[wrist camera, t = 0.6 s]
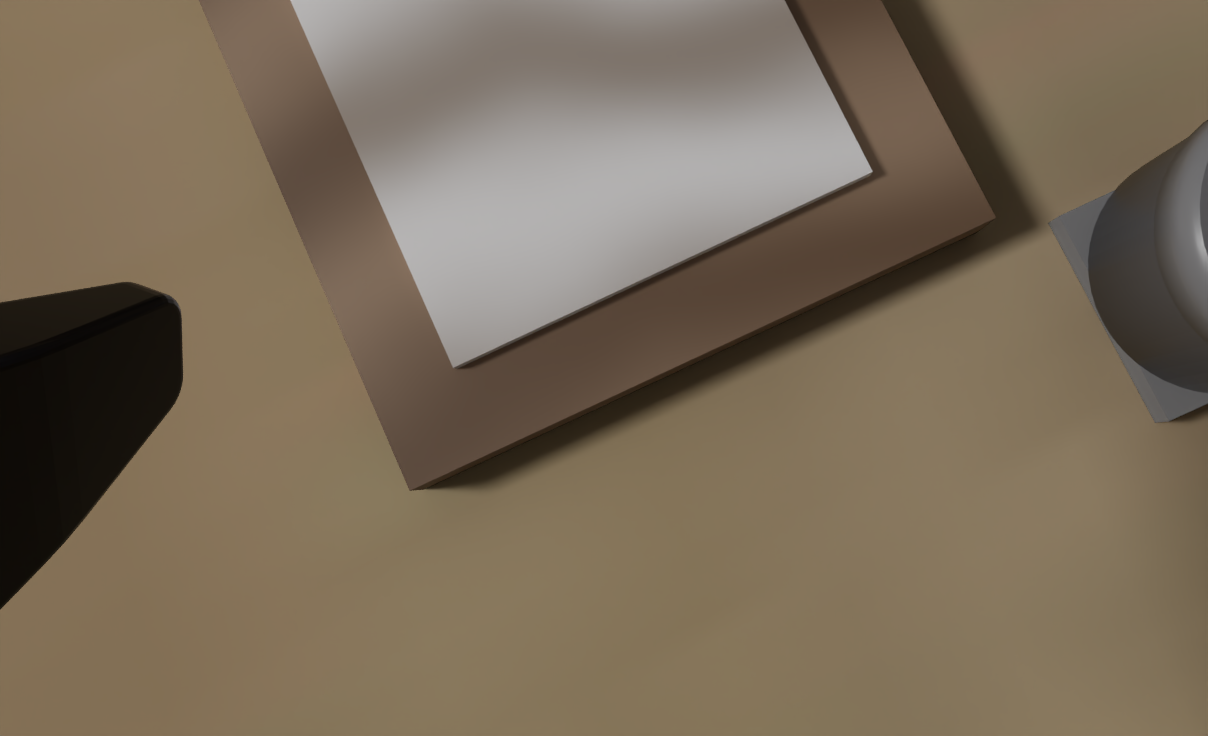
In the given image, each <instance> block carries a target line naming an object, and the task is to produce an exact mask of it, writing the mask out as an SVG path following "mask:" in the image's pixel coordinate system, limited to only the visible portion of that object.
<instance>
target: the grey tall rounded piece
mask: <svg viewBox="0 0 1208 736" xmlns="http://www.w3.org/2000/svg"><path fill="white" fill-rule="evenodd" d="M1049 225H1050V227H1051V229H1052V231H1053V233H1054V235H1055V237H1056V238H1057V240H1058V242H1059V244H1060V246H1061V248H1062V250H1063V251H1064V253H1065V255H1066V257H1067V259H1068V261H1069V263H1070V265H1071V266H1072V268H1073V270H1074V272H1075V274H1076V276H1077V278H1078V280H1079V281H1080V283H1081V285H1082V287H1083V289H1084V291H1085V293H1086V294H1087V296H1088V298H1089V300H1090V302H1091V304H1092V306H1093V308H1094V309H1095V311H1096V313H1097V315H1098V317H1099V319H1100V321H1101V322H1102V324H1103V326H1104V328H1105V330H1106V332H1107V334H1108V336H1109V337H1110V339H1111V341H1112V343H1113V345H1114V347H1115V349H1116V351H1117V352H1118V354H1119V356H1120V358H1121V360H1122V362H1123V364H1124V365H1125V367H1126V369H1127V371H1128V373H1129V375H1130V377H1131V379H1132V380H1133V382H1134V384H1135V386H1136V388H1137V390H1138V392H1139V394H1140V395H1141V397H1142V399H1143V401H1144V403H1145V405H1146V407H1147V408H1148V410H1149V412H1150V414H1151V416H1152V418H1153V420H1154V422H1155V423H1156V422H1167V421H1171V420H1173V419H1175V418H1177V417H1179V416H1182V415H1184V414H1186V413H1188V412H1190V411H1192V410H1195V409H1197V408H1199V407H1201V406H1203V405H1205V404H1208V120H1206V121H1205V122H1204V123H1203V124H1202V125H1200V126H1199V127H1198V128H1197V129H1196V130H1195V131H1194V132H1193V133H1192V134H1191V135H1190V136H1189V137H1188V138H1186V139H1185V140H1183V141H1181V142H1180V143H1178V144H1177V145H1175V146H1173V147H1172V148H1170V149H1169V150H1167V151H1166V152H1164V153H1162V154H1161V155H1159V156H1158V157H1156V158H1155V159H1153V160H1151V161H1150V162H1148V163H1147V164H1145V165H1144V166H1142V167H1141V168H1139V169H1138V170H1137V171H1135V172H1134V173H1132V174H1131V175H1130V176H1129V177H1128V178H1127V179H1125V180H1124V181H1123V182H1122V183H1121V184H1120V185H1119V186H1118V187H1117V189H1116V190H1114V191H1112V192H1110V193H1108V194H1106V195H1104V196H1101V197H1099V198H1097V199H1095V200H1093V201H1091V202H1089V203H1086V204H1084V205H1082V206H1080V207H1078V208H1076V209H1074V210H1071V211H1069V212H1067V213H1065V214H1063V215H1061V216H1059V217H1057V218H1055V219H1054V220H1052V221H1051V222H1049Z"/></svg>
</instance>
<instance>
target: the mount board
mask: <svg viewBox="0 0 1208 736" xmlns="http://www.w3.org/2000/svg"><path fill="white" fill-rule="evenodd" d="M199 1H200V4H201V6H202V8H203V11H204V13H205V15H206V18H207V20H208V22H209V25H210V27H211V29H212V32H213V34H214V36H215V39H216V41H217V43H218V46H219V48H220V50H221V53H222V55H223V57H224V60H225V62H226V64H227V67H228V69H229V71H230V74H231V76H232V78H233V81H234V83H235V85H236V88H237V90H238V92H239V95H240V97H241V99H242V102H243V104H244V106H245V108H246V111H247V113H248V115H249V118H250V120H251V122H252V125H253V127H254V129H255V132H256V134H257V136H258V139H259V141H260V143H261V146H262V148H263V150H264V153H265V155H266V157H267V160H268V162H269V164H270V167H271V169H272V171H273V174H274V176H275V178H276V181H277V183H278V185H279V188H280V190H281V192H282V195H283V197H284V199H285V202H286V204H287V206H288V209H289V211H290V213H291V216H292V218H293V220H294V222H295V225H296V227H297V229H298V232H299V234H300V236H301V239H302V241H303V243H304V246H305V248H306V250H307V253H308V255H309V257H310V260H311V262H312V264H313V267H314V269H315V271H316V274H317V276H318V278H319V281H320V283H321V285H322V288H323V290H324V292H325V295H326V297H327V299H328V302H329V304H330V306H331V309H332V311H333V313H334V316H335V318H336V320H337V323H338V325H339V327H340V330H341V332H342V334H343V337H344V339H345V341H346V343H347V346H348V348H349V350H350V353H351V355H352V357H353V360H354V362H355V364H356V367H357V369H358V371H359V374H360V376H361V378H362V381H363V383H364V385H365V388H366V390H367V392H368V395H369V397H370V399H371V402H372V404H373V406H374V409H375V411H376V413H377V416H378V418H379V420H380V423H381V425H382V427H383V430H384V432H385V434H386V437H387V439H388V441H389V444H390V446H391V448H392V451H393V453H394V455H395V457H396V460H397V462H398V464H399V467H400V469H401V471H402V474H403V476H404V478H405V481H406V483H407V485H408V488H409V490H410V491H412V490H423V489H426V488H428V487H430V486H432V485H434V484H436V483H438V482H441V481H443V480H445V479H447V478H449V477H451V476H454V475H456V474H458V473H460V472H462V471H464V470H466V469H469V468H471V467H473V466H475V465H477V464H479V463H481V462H484V461H486V460H488V459H490V458H492V457H494V456H496V455H499V454H501V453H503V452H505V451H507V450H509V449H512V448H514V447H516V446H518V445H520V444H522V443H524V442H527V441H529V440H531V439H533V438H535V437H537V436H539V435H542V434H544V433H546V432H548V431H550V430H552V429H555V428H557V427H559V426H561V425H563V424H565V423H567V422H570V421H572V420H574V419H576V418H578V417H580V416H582V415H585V414H587V413H589V412H591V411H593V410H595V409H598V408H600V407H602V406H604V405H606V404H608V403H610V402H613V401H615V400H617V399H619V398H621V397H623V396H625V395H628V394H630V393H632V392H634V391H636V390H638V389H641V388H643V387H645V386H647V385H649V384H651V383H653V382H656V381H658V380H660V379H662V378H664V377H666V376H668V375H671V374H673V373H675V372H677V371H679V370H681V369H683V368H686V367H688V366H690V365H692V364H694V363H696V362H699V361H701V360H703V359H705V358H707V357H709V356H711V355H714V354H716V353H718V352H720V351H722V350H724V349H726V348H729V347H731V346H733V345H735V344H737V343H739V342H742V341H744V340H746V339H748V338H750V337H752V336H754V335H757V334H759V333H761V332H763V331H765V330H767V329H769V328H772V327H774V326H776V325H778V324H780V323H782V322H785V321H787V320H789V319H791V318H793V317H795V316H797V315H800V314H802V313H804V312H806V311H808V310H810V309H812V308H815V307H817V306H819V305H821V304H823V303H825V302H827V301H830V300H832V299H834V298H836V297H838V296H840V295H843V294H845V293H847V292H849V291H851V290H853V289H855V288H858V287H860V286H862V285H864V284H866V283H868V282H870V281H873V280H875V279H877V278H879V277H881V276H883V275H886V274H888V273H890V272H892V271H894V270H896V269H898V268H901V267H903V266H905V265H907V264H909V263H911V262H913V261H916V260H918V259H920V258H922V257H924V256H926V255H929V254H931V253H933V252H935V251H937V250H939V249H941V248H944V247H946V246H948V245H950V244H952V243H954V242H956V241H959V240H961V239H963V238H965V237H967V236H969V235H971V234H974V233H976V232H978V231H979V230H981V229H982V228H983V227H985V226H986V225H987V224H989V223H990V222H991V221H993V220H994V219H995V218H996V217H995V215H994V213H993V211H992V209H991V207H990V205H989V203H988V201H987V199H986V198H985V196H984V194H983V192H982V190H981V188H980V186H979V184H978V182H977V181H976V179H975V177H974V175H973V173H972V171H971V169H970V167H969V165H968V164H967V162H966V160H965V158H964V156H963V154H962V152H961V150H960V148H959V146H958V145H957V143H956V141H955V139H954V137H953V135H952V133H951V131H950V129H949V128H948V126H947V124H946V122H945V120H944V118H943V116H942V114H941V112H940V111H939V109H938V107H937V105H936V103H935V101H934V99H933V97H932V95H931V93H930V92H929V90H928V88H927V86H926V84H925V82H924V80H923V78H922V76H921V75H920V73H919V71H918V69H917V67H916V65H915V63H914V61H913V59H912V58H911V56H910V54H909V52H908V50H907V48H906V46H905V44H904V42H903V40H902V39H901V37H900V35H899V33H898V31H897V29H896V27H895V25H894V23H893V22H892V20H891V18H890V16H889V14H888V12H887V10H886V8H885V6H884V5H883V3H882V1H881V0H199Z"/></svg>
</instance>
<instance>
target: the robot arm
mask: <svg viewBox="0 0 1208 736" xmlns="http://www.w3.org/2000/svg"><path fill="white" fill-rule="evenodd" d="M182 382H183V355H182V318H181V310H180V308H179V305H178V303H177V302H176V300H174V299H173V298H172V297H171V296H169V295H167V294H164V293H161V292H159V291H156V290H153V289H150V288H148V287H145V286H142V285H139V284H136V283H132V282H121V283H115V284H109V285H103V286H97V287H91V288H85V289H79V290H73V291H67V292H61V293H55V294H49V295H43V296H37V297H31V298H25V299H19V300H13V301H7V302H1V303H0V609H1V608H2V607H3V606H4V605H5V604H6V603H7V602H8V601H9V600H10V599H11V598H12V597H13V596H14V595H15V594H16V593H17V592H18V591H19V590H20V589H21V588H22V587H23V586H24V585H25V584H26V583H27V582H28V581H29V580H30V579H31V578H32V577H33V575H34V574H35V573H36V572H37V571H38V570H39V569H40V568H41V567H42V566H43V565H44V564H45V563H46V562H47V561H48V560H49V559H50V558H51V557H52V555H53V554H54V553H55V552H56V551H57V550H58V549H59V548H60V547H61V546H62V545H63V544H64V542H65V541H66V540H67V539H68V538H69V537H70V535H71V534H72V533H73V532H74V531H75V529H76V528H77V527H78V526H79V525H80V524H81V522H82V521H83V520H84V519H85V517H86V516H87V515H88V514H89V512H90V511H91V510H92V509H93V507H94V506H95V505H96V503H97V502H98V501H99V500H100V498H101V497H102V496H103V495H104V493H105V492H106V491H107V489H108V488H109V487H110V486H111V484H112V483H113V482H114V481H115V479H116V478H117V477H118V476H119V474H120V473H121V472H122V470H123V469H124V468H125V467H126V465H127V464H128V463H129V462H130V460H131V459H132V458H133V456H134V455H135V454H136V453H137V451H138V450H139V449H140V448H141V446H142V445H143V444H144V443H145V441H146V440H147V439H148V437H149V436H150V435H151V434H152V432H153V431H154V430H155V429H156V427H157V426H158V425H159V423H160V422H161V421H162V420H163V418H164V417H165V416H166V415H167V413H168V412H169V411H170V410H171V408H172V407H173V405H174V404H175V402H176V400H177V398H178V396H179V393H180V390H181V387H182Z"/></svg>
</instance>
